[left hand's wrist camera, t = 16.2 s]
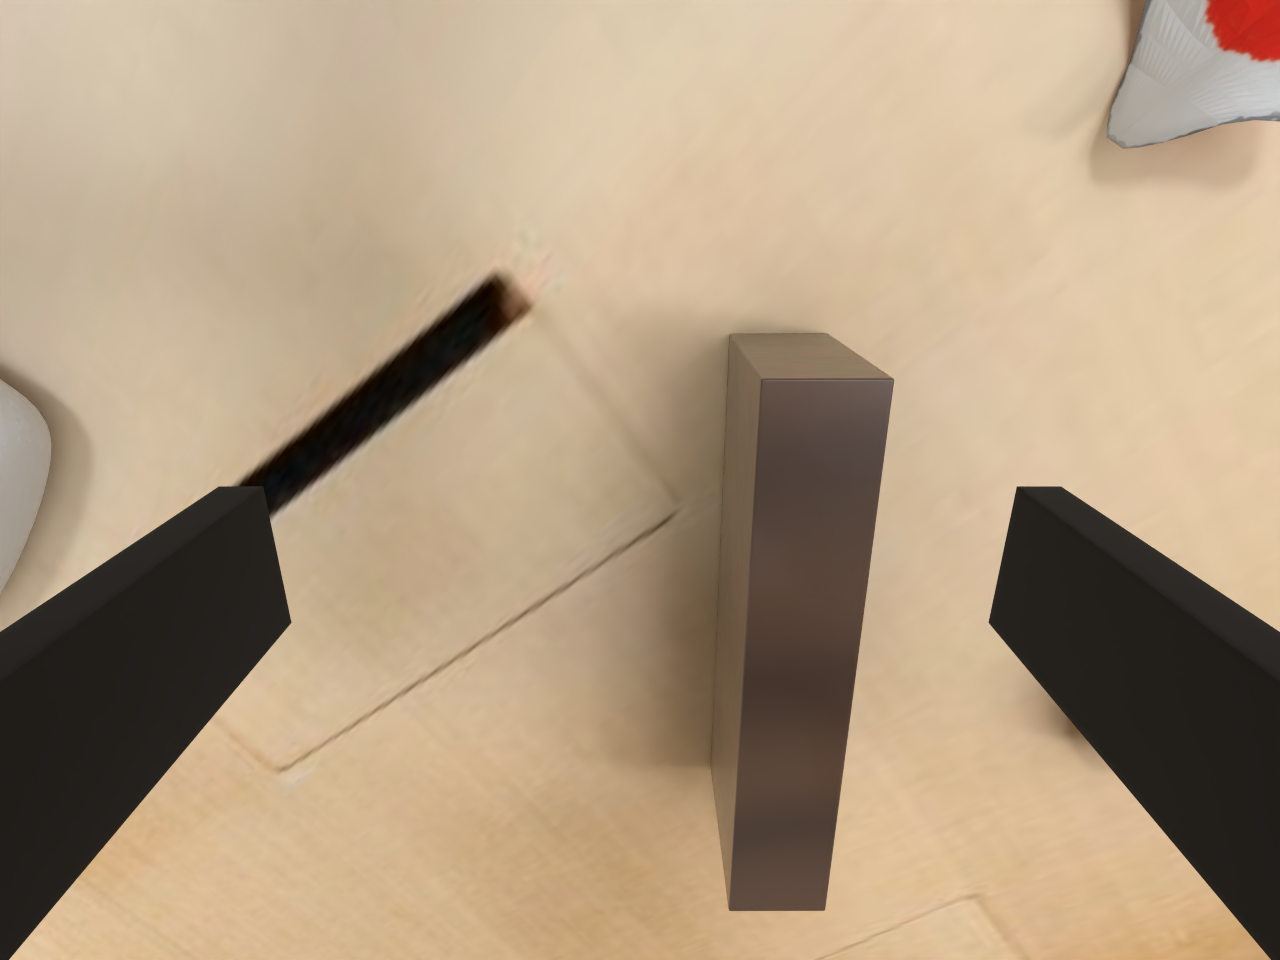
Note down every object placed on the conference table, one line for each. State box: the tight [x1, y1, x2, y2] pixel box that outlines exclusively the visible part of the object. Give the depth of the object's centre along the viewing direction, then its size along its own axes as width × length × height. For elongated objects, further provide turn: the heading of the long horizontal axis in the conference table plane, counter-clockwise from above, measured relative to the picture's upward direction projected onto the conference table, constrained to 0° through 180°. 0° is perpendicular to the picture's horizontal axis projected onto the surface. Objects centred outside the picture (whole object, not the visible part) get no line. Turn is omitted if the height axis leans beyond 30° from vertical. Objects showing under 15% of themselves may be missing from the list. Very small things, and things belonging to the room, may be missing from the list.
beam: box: [711, 334, 894, 911], centre depth 36 cm, size 28×5×10 cm, turn 0°
